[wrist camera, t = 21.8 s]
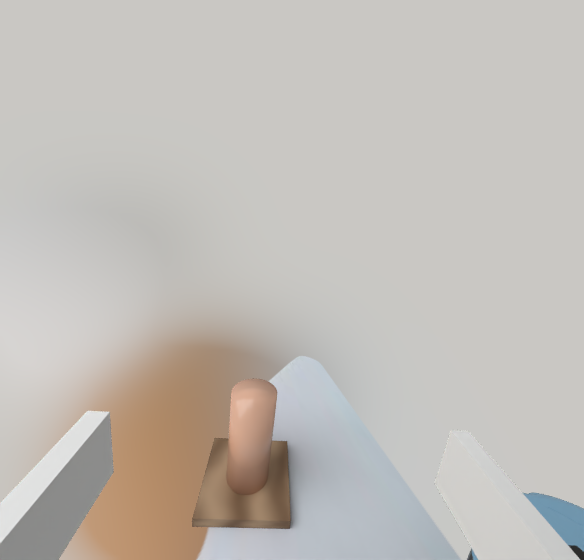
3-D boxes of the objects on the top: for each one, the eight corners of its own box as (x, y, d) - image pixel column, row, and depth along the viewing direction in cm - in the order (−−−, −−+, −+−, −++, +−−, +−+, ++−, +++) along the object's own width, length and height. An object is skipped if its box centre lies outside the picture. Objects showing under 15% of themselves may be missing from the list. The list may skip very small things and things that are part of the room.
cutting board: (286, 447, 53) (287, 441, 53) (289, 528, 40) (290, 521, 39) (214, 444, 52) (214, 438, 52) (192, 526, 39) (192, 518, 38)
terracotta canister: (268, 456, 49) (277, 379, 45) (267, 495, 42) (277, 409, 38) (230, 454, 49) (235, 377, 45) (222, 494, 42) (227, 406, 38)
